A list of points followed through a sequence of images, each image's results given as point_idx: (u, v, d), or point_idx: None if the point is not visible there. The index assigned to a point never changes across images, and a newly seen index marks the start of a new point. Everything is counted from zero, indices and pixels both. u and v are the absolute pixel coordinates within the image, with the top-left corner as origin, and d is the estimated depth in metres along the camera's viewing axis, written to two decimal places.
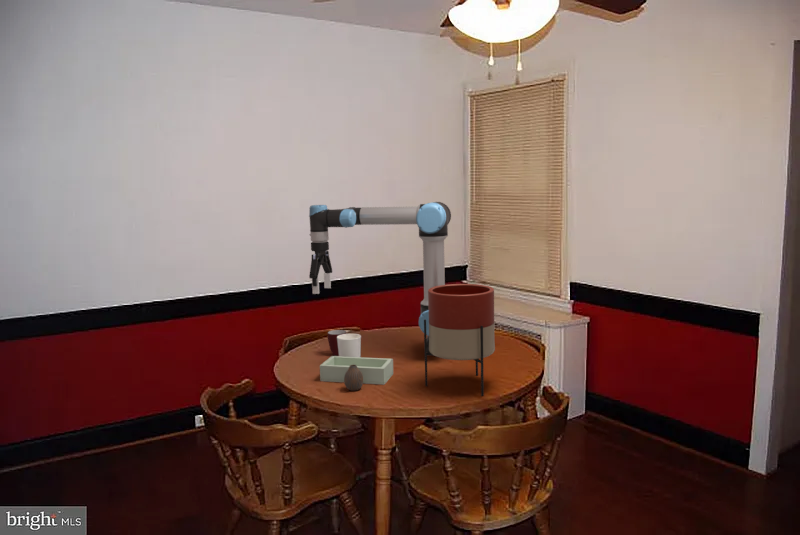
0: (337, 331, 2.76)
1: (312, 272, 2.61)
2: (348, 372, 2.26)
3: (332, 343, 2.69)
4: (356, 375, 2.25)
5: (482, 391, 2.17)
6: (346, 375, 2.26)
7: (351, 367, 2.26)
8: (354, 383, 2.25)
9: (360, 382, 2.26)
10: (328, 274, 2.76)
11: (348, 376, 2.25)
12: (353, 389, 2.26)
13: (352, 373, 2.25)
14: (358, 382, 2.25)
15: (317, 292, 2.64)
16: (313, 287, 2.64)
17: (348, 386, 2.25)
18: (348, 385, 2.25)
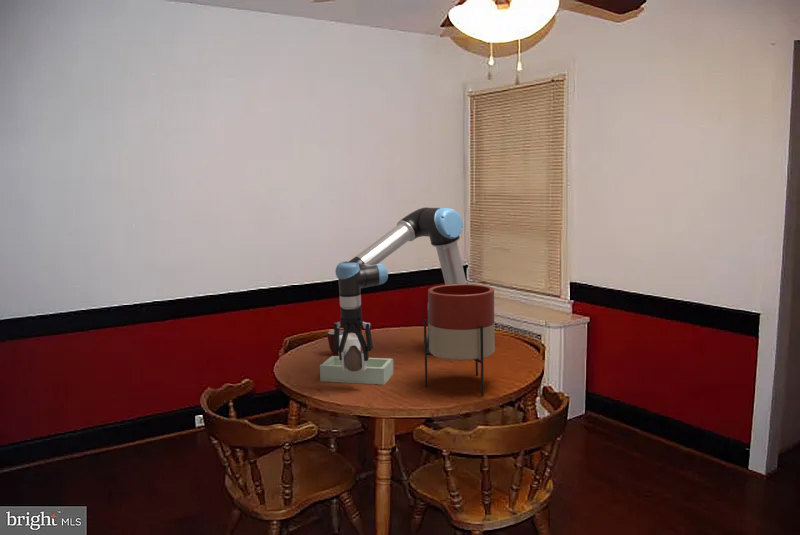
0: None
1: None
2: (348, 353, 2.25)
3: (332, 343, 2.69)
4: (356, 356, 2.24)
5: (482, 391, 2.17)
6: (346, 356, 2.25)
7: (351, 348, 2.25)
8: (355, 364, 2.24)
9: (361, 363, 2.25)
10: None
11: (349, 356, 2.24)
12: (354, 370, 2.25)
13: (352, 354, 2.24)
14: (358, 363, 2.25)
15: None
16: None
17: (349, 367, 2.25)
18: (348, 366, 2.25)
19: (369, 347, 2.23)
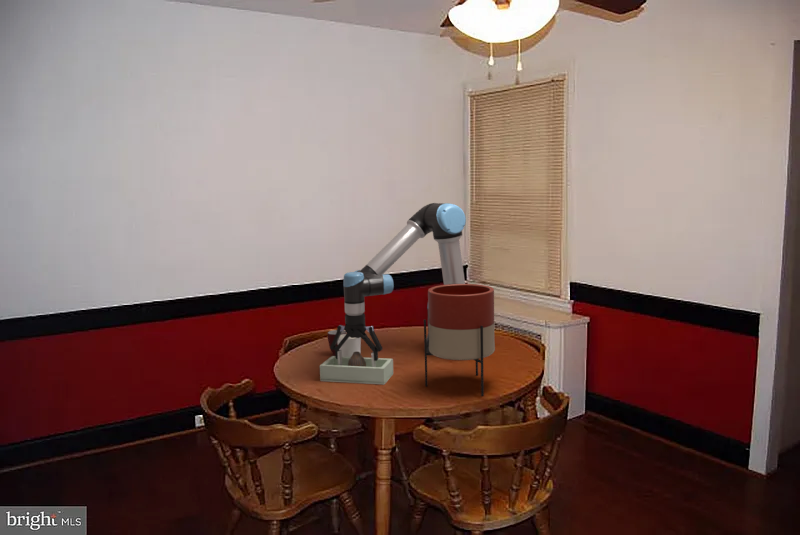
0: None
1: None
2: (352, 358, 2.39)
3: None
4: (359, 361, 2.38)
5: (482, 391, 2.17)
6: (350, 361, 2.39)
7: (355, 354, 2.39)
8: None
9: None
10: None
11: (352, 362, 2.38)
12: None
13: (355, 359, 2.38)
14: None
15: None
16: None
17: None
18: None
19: (378, 347, 2.36)
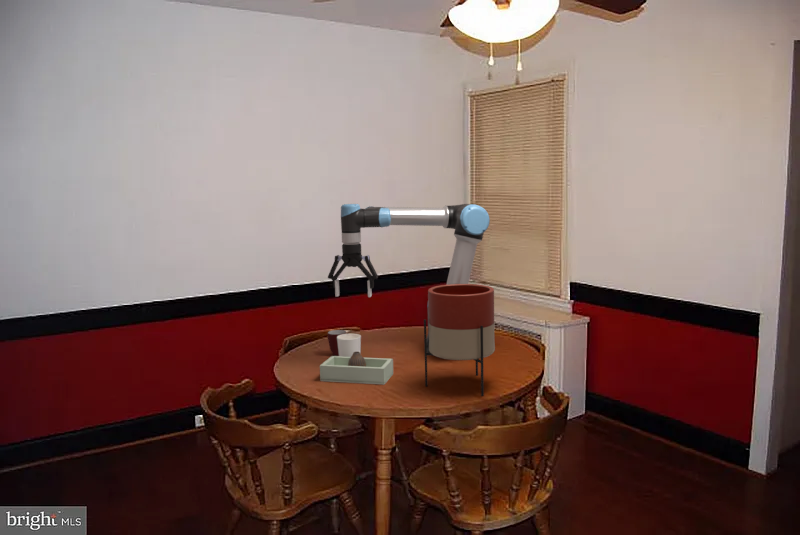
0: (337, 331, 2.76)
1: None
2: (352, 358, 2.39)
3: (332, 343, 2.69)
4: (359, 361, 2.38)
5: (482, 391, 2.17)
6: (350, 361, 2.39)
7: (355, 354, 2.39)
8: None
9: None
10: None
11: (352, 362, 2.38)
12: None
13: (355, 359, 2.38)
14: None
15: None
16: None
17: None
18: None
19: (374, 275, 2.47)
